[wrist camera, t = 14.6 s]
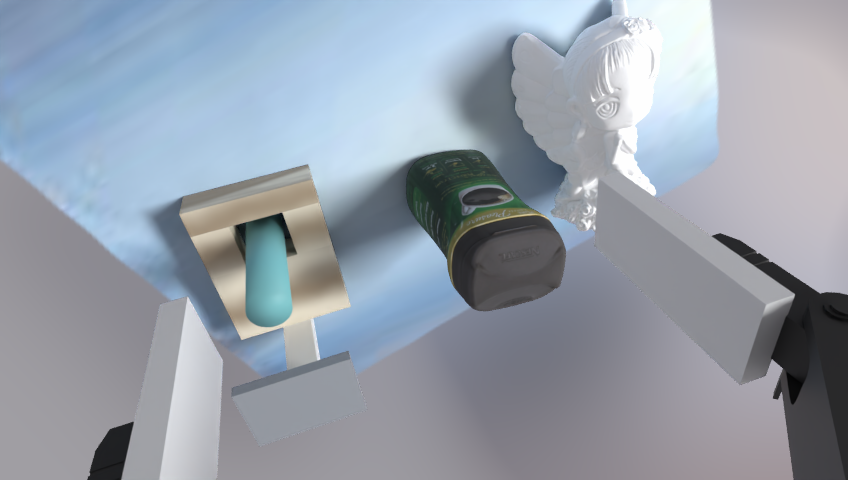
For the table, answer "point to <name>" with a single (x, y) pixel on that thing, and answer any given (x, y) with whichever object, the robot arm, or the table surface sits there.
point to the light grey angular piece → (300, 390)
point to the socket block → (306, 249)
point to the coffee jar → (484, 231)
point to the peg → (267, 273)
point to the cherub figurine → (589, 105)
